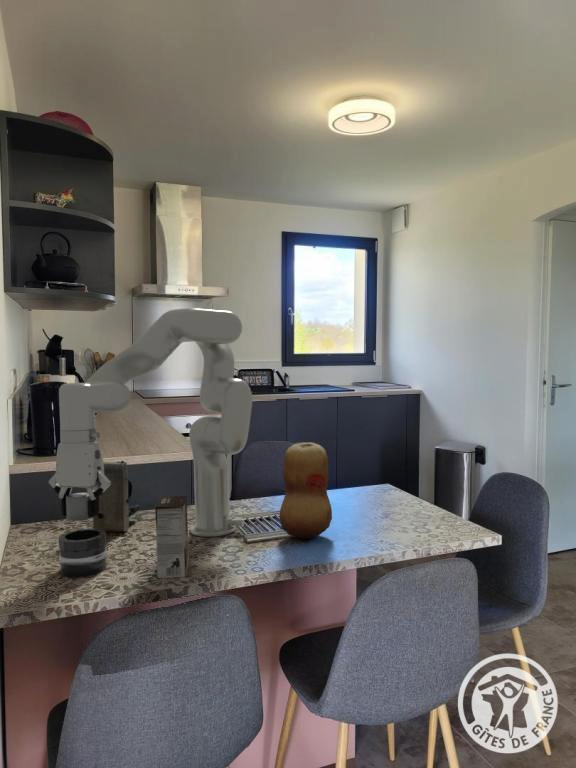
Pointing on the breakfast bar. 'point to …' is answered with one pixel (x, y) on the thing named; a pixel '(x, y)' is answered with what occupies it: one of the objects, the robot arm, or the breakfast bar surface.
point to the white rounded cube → (77, 506)
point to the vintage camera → (115, 500)
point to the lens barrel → (82, 552)
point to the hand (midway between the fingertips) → (80, 514)
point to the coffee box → (172, 536)
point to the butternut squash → (305, 491)
